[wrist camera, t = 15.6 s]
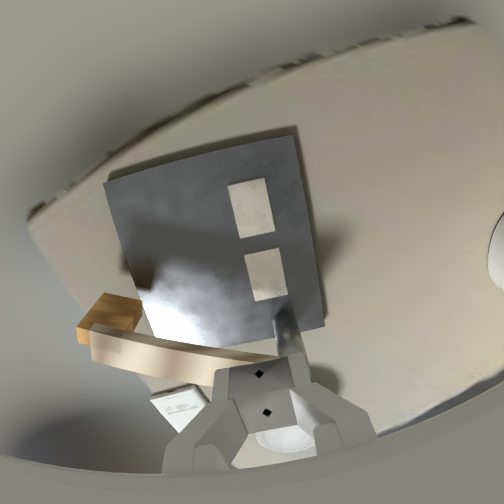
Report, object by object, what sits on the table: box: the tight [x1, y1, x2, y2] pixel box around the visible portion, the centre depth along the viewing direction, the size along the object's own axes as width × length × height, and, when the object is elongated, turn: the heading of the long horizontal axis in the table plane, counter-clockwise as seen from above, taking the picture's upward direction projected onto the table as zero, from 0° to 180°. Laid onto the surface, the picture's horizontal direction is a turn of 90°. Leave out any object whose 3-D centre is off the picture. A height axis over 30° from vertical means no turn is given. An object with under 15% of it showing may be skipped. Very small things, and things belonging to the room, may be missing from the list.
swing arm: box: [76, 293, 278, 387], centre depth 33 cm, size 20×4×8 cm, turn 79°
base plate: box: [103, 135, 325, 380], centre depth 32 cm, size 22×24×12 cm
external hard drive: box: [150, 385, 207, 433], centre depth 47 cm, size 2×8×12 cm
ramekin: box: [255, 425, 315, 452], centre depth 45 cm, size 11×11×5 cm
